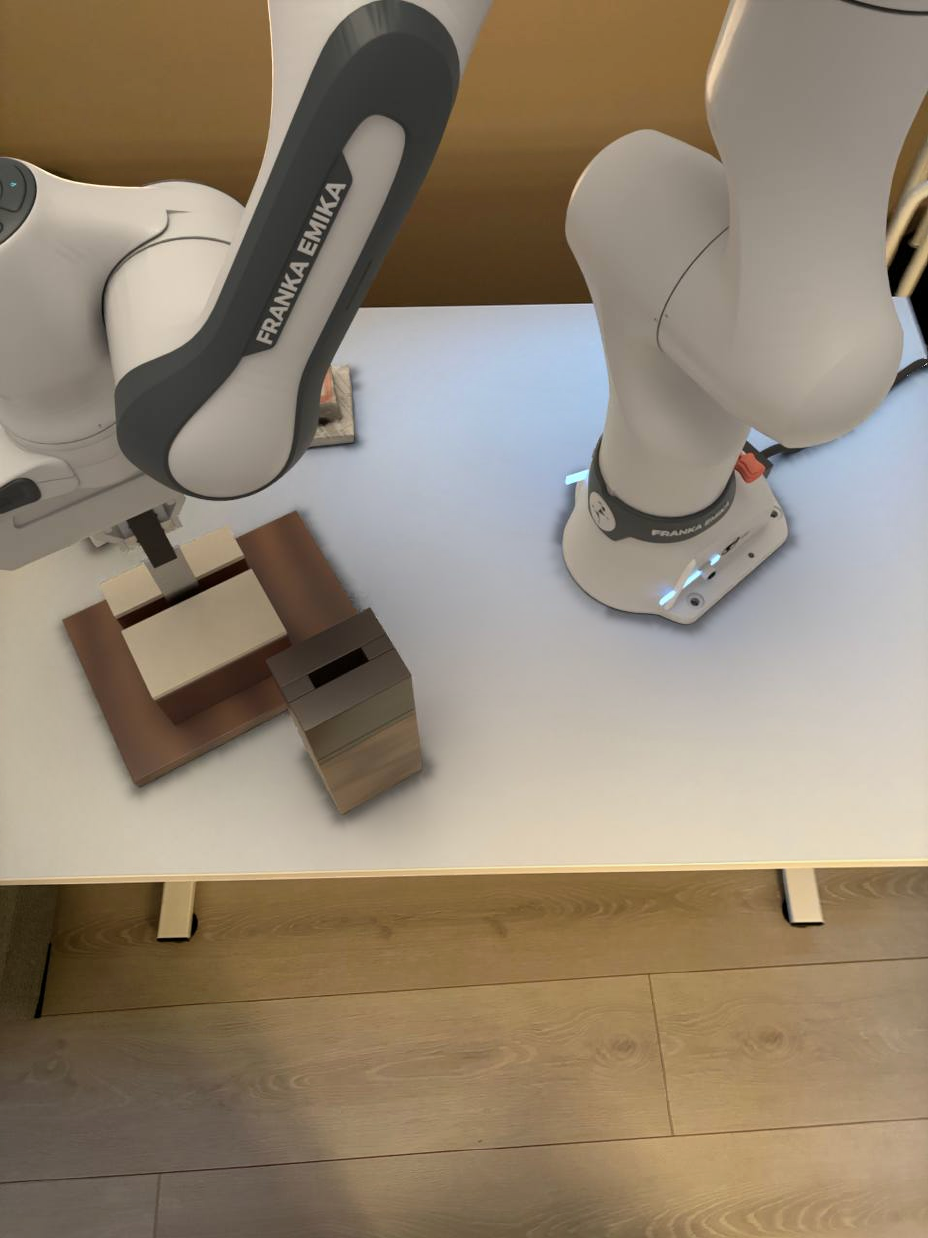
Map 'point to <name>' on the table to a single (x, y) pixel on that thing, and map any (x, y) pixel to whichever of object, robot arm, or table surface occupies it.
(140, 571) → the cake slice
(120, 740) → the board
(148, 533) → the knife
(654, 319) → the robot arm
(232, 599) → the cake
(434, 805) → the table surface
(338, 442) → the packaged product
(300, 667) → the knife block
